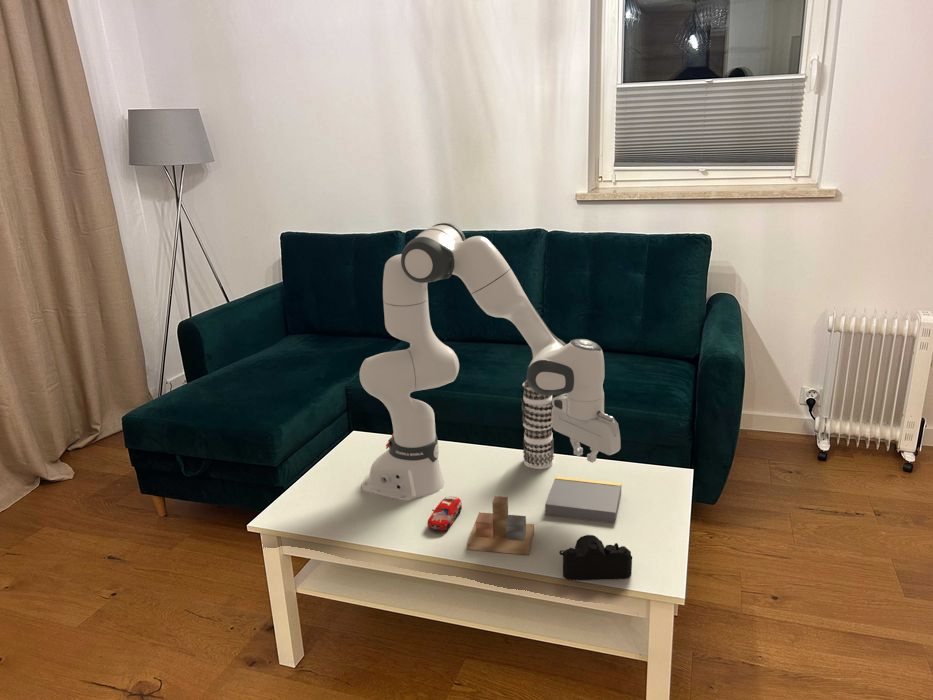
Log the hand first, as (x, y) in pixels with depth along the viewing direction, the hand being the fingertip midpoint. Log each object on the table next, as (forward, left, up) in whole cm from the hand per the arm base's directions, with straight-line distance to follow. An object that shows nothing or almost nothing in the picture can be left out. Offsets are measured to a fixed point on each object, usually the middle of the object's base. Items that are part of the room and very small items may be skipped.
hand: (584, 457), depth 177 cm
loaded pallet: (-16, -21, -13) cm, 29 cm away
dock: (0, 0, -13) cm, 13 cm away
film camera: (+6, -26, -14) cm, 30 cm away
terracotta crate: (-20, -21, -11) cm, 31 cm away
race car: (-31, -18, -15) cm, 39 cm away
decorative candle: (-16, +20, -13) cm, 28 cm away
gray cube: (-13, -20, -11) cm, 26 cm away
